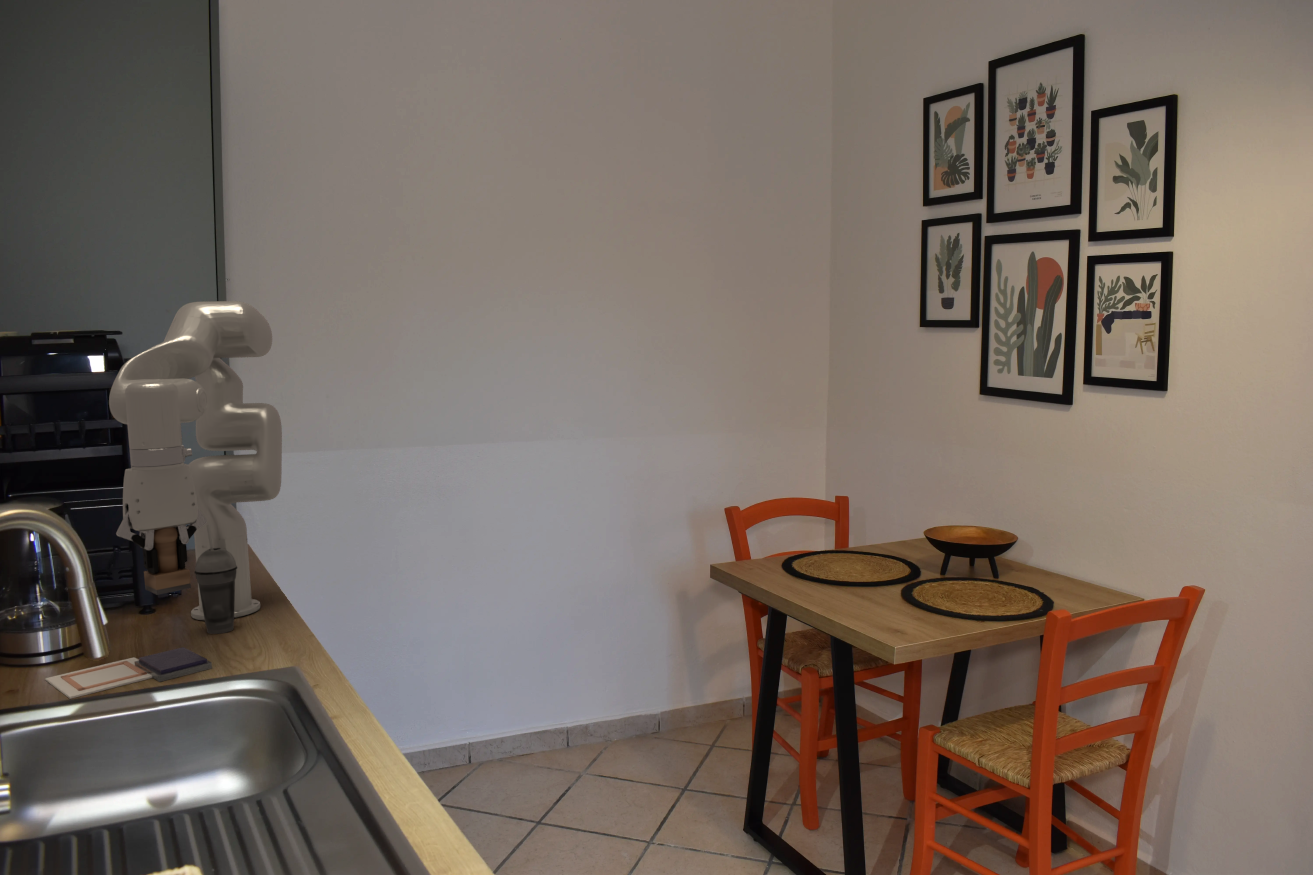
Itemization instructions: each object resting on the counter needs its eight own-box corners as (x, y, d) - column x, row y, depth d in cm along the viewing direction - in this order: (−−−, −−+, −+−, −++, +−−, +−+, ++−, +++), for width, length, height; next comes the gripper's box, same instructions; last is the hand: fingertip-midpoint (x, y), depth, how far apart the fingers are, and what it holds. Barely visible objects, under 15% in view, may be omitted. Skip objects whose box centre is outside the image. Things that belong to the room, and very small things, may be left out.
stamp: (145, 589, 150) (139, 523, 149) (178, 582, 154) (173, 518, 153) (157, 594, 146) (151, 527, 145) (191, 587, 150) (185, 521, 149)
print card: (45, 680, 147) (45, 676, 147) (134, 658, 156) (134, 655, 156) (69, 698, 138) (69, 695, 138) (162, 675, 147) (162, 672, 147)
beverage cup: (220, 637, 167) (212, 529, 166) (189, 634, 170) (181, 527, 168) (250, 626, 174) (243, 522, 172) (220, 623, 177) (213, 520, 175)
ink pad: (135, 667, 152) (134, 657, 152) (185, 654, 158) (185, 645, 157) (159, 681, 144) (158, 671, 144) (212, 668, 150) (211, 658, 150)
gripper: (201, 451, 156) (209, 557, 158) (92, 462, 144) (102, 576, 146) (219, 454, 151) (227, 563, 153) (107, 466, 139) (118, 584, 141)
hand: (166, 568), depth 150 cm, fingers closed on stamp, 3 cm apart
